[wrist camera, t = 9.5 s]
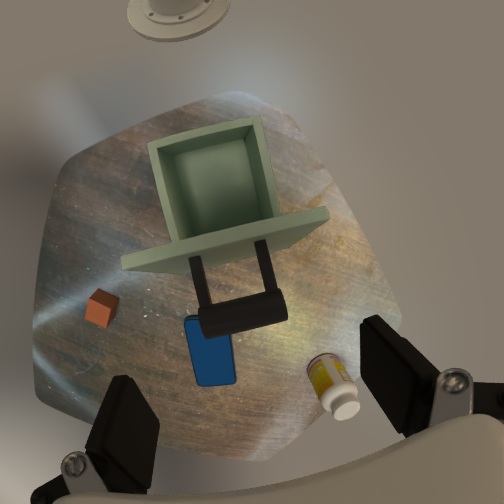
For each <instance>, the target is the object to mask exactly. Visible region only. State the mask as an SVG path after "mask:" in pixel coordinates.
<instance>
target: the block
mask: <svg viewBox="0 0 504 504" xmlns="http://www.w3.org/2000/svg"><path fill="white" fill-rule="evenodd" d="M118 299H119V298H117V297H115V296H112V295H110V294H108V293H106V292H104V291H102V290H100V289H97V290H96V292H95V293H94V294H93V295H92V296H91V297H90V298H89V300H88V305H87V310H86V315H85V319H87V320H89V321H91V322H93V323H95V324H97V325H99V326H101V327H103V328H105V329H106V328H107V327H108V325H109V324H110V322H111V321H112V319H113V318H114V314H115V310H116V307H117V303H118Z"/></svg>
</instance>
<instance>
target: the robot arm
mask: <svg viewBox="0 0 504 504" xmlns="http://www.w3.org/2000/svg"><path fill="white" fill-rule="evenodd" d="M212 2H213V0H142V11H143V13H144V15H145V16H146V17H147V19H149V20H150V21H152V22H154V23H157V24H162V25H176V24H181V23H185V22H188V21H191V20H193V19H195V18H197V17H199V16H200V15H202V14H203V13H204V12H206V11H207V10H208V9H209V7H210V6H211V4H212ZM360 373H361V377H362V379H363V381H364V382H365V384H366V385H367V387H368V389H369V390H370V392H371V393H372V395H373V396H374V398H375V399H376V401H377V402H378V404H379V405H380V407H381V408H382V410H383V411H384V413H385V414H386V416H387V417H388V419H389V420H390V422H391V423H392V425H393V427H394V428H395V429H396V431H397V432H398V433H399V434H400V433H403V435H404V436H405V438H406V439H404V440H402V441H400V442H398V443H395V444H393V445H391V446H389V447H387V448H384V449H382V450H380V451H377V452H375V453H372V454H370V455H367V456H365V457H362V458H360V459H358V460H355V461H352V462H349V463H347V464H344V465H341V466H338V467H335V468H332V469H329V470H326V471H323V472H319V473H316V474H313V475H309V476H306V477H302V478H298V479H294V480H290V481H286V482H281V483H277V484H272V485H267V486H261V487H256V488H250V489H243V490H237V491H228V492H219V493H209V494H192V495H147V489H149V488H150V487H151V481H152V474H153V467H154V460H155V452H156V447H157V440H158V434H159V428H160V423H159V420H158V418H157V417H156V415H155V414H154V412H153V411H152V409H151V407H150V406H149V404H148V403H147V401H146V400H145V398H144V396H143V395H142V393H141V391H140V390H139V388H138V386H137V385H136V383H135V381H134V380H133V378H130V377H129V376H128V375H119V376H114V377H113V379H112V381H111V383H110V385H109V388H108V390H107V392H106V395H105V397H104V400H103V402H102V404H101V407H100V409H99V412H98V414H97V417H96V419H95V422H94V424H93V427H92V429H91V432H90V435H89V437H88V440H87V443H86V445H85V448H86V452H85V453H83V452H80V451H77V452H72V453H70V454H68V455H67V456H66V457H65V458H64V459H63V461H62V463H61V472H62V474H61V475H59V476H57V477H56V478H54V479H53V480H51V481H49V482H47V483H45V484H44V485H42V486H40V487H38V488H37V489H35V490H34V492H33V493H32V495H31V499H30V500H31V501H30V502H31V504H504V383H482V382H473V378H472V377H471V375H470V373H468V372H467V371H466V370H463V369H460V368H451V369H447V370H445V371H443V372H442V373H441V372H439V370H438V369H437V368H436V367H435V366H433V365H432V364H431V363H430V362H429V361H428V360H427V359H426V358H425V357H424V356H423V355H422V354H421V353H420V352H419V351H418V350H417V349H416V348H415V347H414V346H413V345H412V344H411V343H410V342H409V341H408V340H407V339H405V338H403V337H401V336H400V335H399V334H398V333H397V332H395V331H394V330H393V329H392V328H391V327H390V326H389V325H388V324H387V323H386V322H385V321H384V320H383V319H382V318H381V317H380V316H379V315H373V316H370V317H368V318H365V319H364V320H363V323H361V324H360ZM413 434H414V435H413ZM411 435H413V436H411ZM409 436H410V437H409ZM407 437H408V438H407Z"/></svg>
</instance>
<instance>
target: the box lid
mask: <svg viewBox="0 0 504 504" xmlns="http://www.w3.org/2000/svg"><path fill="white" fill-rule="evenodd" d="M329 219H330V216H329V213H328V209H327V207H326V206H322V207H318V208H313V209H309V210H304V211H300V212H295V213H291V214H286V215H282V216H278V217H273V218H269V219H265V220H260V221H256V222H252V223H248V224H244V225H239V226H235V227H231V228H227V229H223V230H219V231H215V232H211V233H207V234H203V235H199V236H195V237H191V238H187V239H183V240H180V241H176V242H172V243H168V244H164V245H160V246H157V247H153V248H149V249H146V250H142V251H138V252H134V253H131V254H127V255H124V256H121V257H120V260H121V266H122V270H128V271H141V272H154V273H169V274H184V273H188V272H191V273H192V277H193V282H194V286H195V290H196V294H197V298H198V302H199V306H200V307H199V308H198V319H199V324H200V327H201V331H202V333H203V335H204V337H205V339H212V338H217V337H221V336H226V335H230V334H234V333H239V332H243V331H247V330H251V329H255V328H259V327H263V326H267V325H271V324H275V323H279V322H283V321H286V320H288V312H287V307H286V303H285V300H284V296H283V294H282V291H281V289H280V288H278V287H277V283H276V279H275V275H274V271H273V267H272V263H271V259H270V255H269V253H270V252H274V251H278V250H282V249H286V248H289V247H290V246H292V245H293V244H295V243H296V242H298V241H299V240H301V239H302V238H303V237H305V236H306V235H308V234H309V233H311V232H312V231H314V230H315V229H316V228H318V227H319V226H321V225H322V224H324V223H325V222H326V221H328V220H329ZM253 256H257V258H258V262H259V266H260V271H261V275H262V279H263V283H264V287H265V292H262V293H258V294H254V295H250V296H245V297H241V298H237V299H233V300H229V301H225V302H220V303H216V304H212V300H211V296H210V292H209V288H208V284H207V280H206V276H205V272H204V268H209V267H213V266H217V265H221V264H225V263H229V262H233V261H237V260H241V259H245V258H249V257H253Z"/></svg>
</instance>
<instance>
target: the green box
mask: <svg viewBox="0 0 504 504" xmlns="http://www.w3.org/2000/svg"><path fill="white" fill-rule="evenodd" d="M147 146H148V151H149V156H150V160H151V164H152V169H153V173H154V177H155V181H156V186H157V190H158V194H159V198H160V201H161V205H162V209H163V213H164V217H165V220H166V224H167V228H168V231H169V235H170V238H171V242H176V241H180V240H183V239H187V238H191V237H195V236H199V235H203V234H207V233H211V232H215V231H219V230H223V229H227V228H231V227H235V226H239V225H244V224H248V223H252V222H256V221H260V220H265V219H269V218H273V217H278V216H282V214H281V209H280V205H279V200H278V195H277V190H276V185H275V181H274V176H273V172H272V167H271V162H270V158H269V153H268V149H267V145H266V140H265V136H264V132H263V127H262V123H261V119H260V115H257V116H252V117H246V118H241V119H236V120H231V121H227V122H222V123H218V124H213V125H209V126H205V127H201V128H197V129H193V130H189V131H185V132H182V133H178V134H175V135H171V136H168V137H164V138H161V139H158V140H154V141H151V142H148V143H147Z"/></svg>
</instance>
